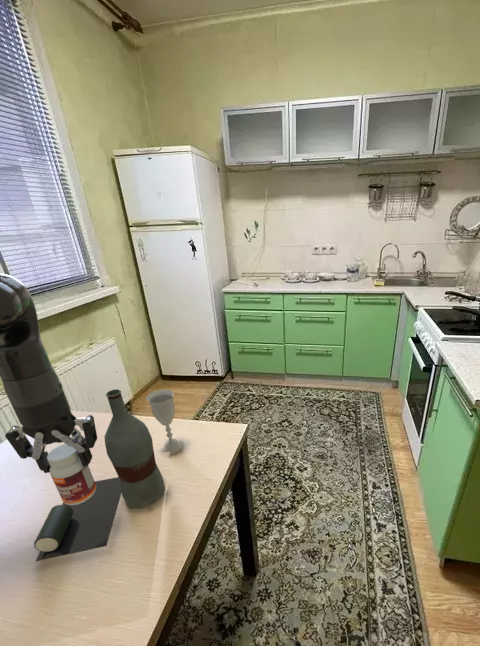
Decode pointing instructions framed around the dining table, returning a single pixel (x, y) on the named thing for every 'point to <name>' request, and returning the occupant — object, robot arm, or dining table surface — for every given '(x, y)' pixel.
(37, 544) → the sushi roll
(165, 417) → the chalice
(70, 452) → the pill bottle
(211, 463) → the dining table surface
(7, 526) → the dining table surface
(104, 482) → the slate board
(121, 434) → the vodka
